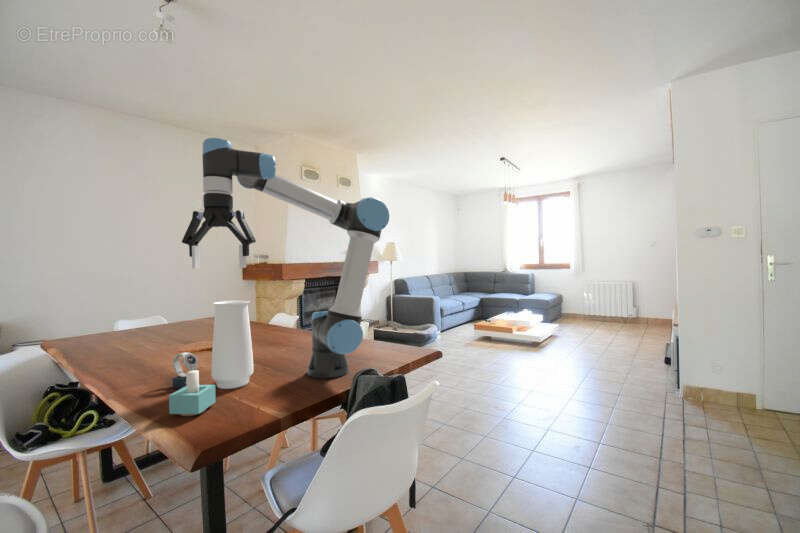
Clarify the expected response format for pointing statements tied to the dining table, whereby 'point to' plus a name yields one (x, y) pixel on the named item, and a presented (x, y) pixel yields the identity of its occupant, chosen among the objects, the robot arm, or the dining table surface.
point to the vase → (232, 345)
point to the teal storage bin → (192, 400)
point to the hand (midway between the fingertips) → (219, 268)
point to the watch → (188, 361)
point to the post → (192, 385)
